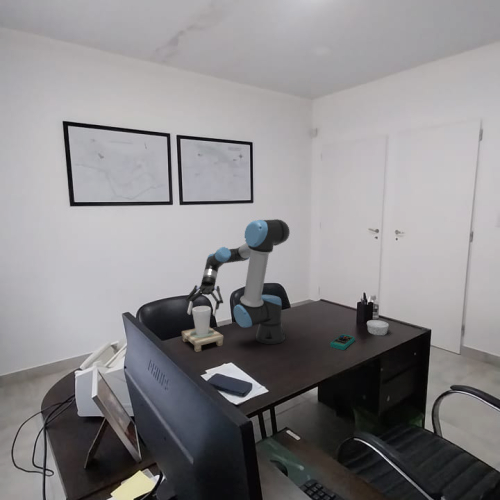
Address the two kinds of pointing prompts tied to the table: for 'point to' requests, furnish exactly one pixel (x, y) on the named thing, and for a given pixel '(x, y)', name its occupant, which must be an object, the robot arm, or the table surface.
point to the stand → (202, 338)
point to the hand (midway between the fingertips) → (201, 314)
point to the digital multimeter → (342, 342)
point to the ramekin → (377, 327)
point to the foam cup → (201, 319)
